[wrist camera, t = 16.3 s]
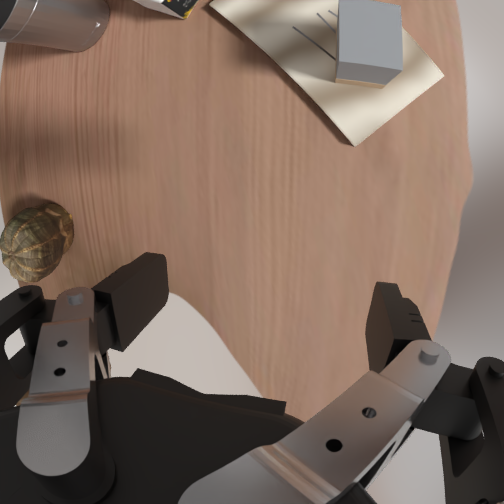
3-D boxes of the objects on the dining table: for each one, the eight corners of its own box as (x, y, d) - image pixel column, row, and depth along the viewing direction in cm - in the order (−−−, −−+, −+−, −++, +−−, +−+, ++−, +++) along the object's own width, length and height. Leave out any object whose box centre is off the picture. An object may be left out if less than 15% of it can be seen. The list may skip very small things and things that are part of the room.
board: (213, 8, 30) (208, 4, 28) (295, -54, 24) (294, -60, 23) (353, 146, 33) (355, 146, 31) (439, 78, 27) (444, 75, 26)
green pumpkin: (57, 268, 49) (10, 297, 39) (33, 213, 47) (-17, 234, 36) (92, 250, 46) (40, 281, 35) (65, 188, 43) (8, 207, 32)
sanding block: (335, 83, 29) (338, 61, 20) (335, 32, 27) (338, -4, 18) (382, 89, 28) (403, 71, 19) (382, 38, 26) (401, 5, 17)
